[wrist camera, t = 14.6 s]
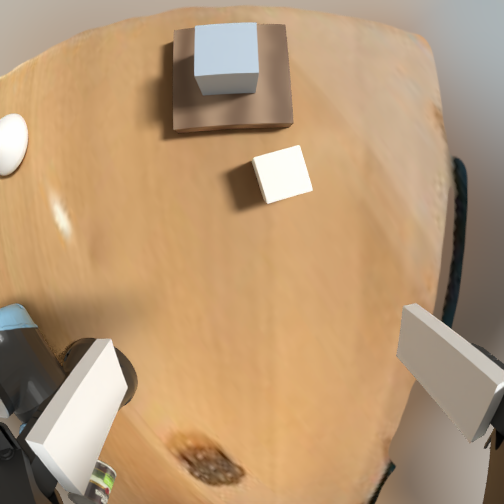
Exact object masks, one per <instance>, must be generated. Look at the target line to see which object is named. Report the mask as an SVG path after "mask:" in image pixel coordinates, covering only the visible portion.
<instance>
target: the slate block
mask: <svg viewBox="0 0 504 504" xmlns="http://www.w3.org/2000/svg"><path fill="white" fill-rule="evenodd" d="M258 76H259V62H258V43H257V24H256V23H226V24H211V25H200V26H195V54H194V77H195V79H196V81H197V83H198V86H199V88H200V90H201V92H202V94H203V96H204V95H218V94H236V93H256V87H257V81H258Z"/></svg>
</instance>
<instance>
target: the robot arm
mask: <svg viewBox="0 0 504 504" xmlns="http://www.w3.org/2000/svg"><path fill="white" fill-rule="evenodd" d="M396 356H397V357H398V358H399V360H400V361H401V362H402V363H403V364H404V365H405V366H406V368H407V369H408V370H409V371H410V372H411V373H412V375H413V376H414V377H415V378H416V379H417V380H418V381H419V383H420V384H421V385H422V386H423V387H424V388H425V390H426V391H427V392H428V393H429V394H430V396H431V397H432V398H433V399H434V400H435V401H436V403H437V404H438V405H439V406H440V407H441V409H442V410H443V411H444V412H445V413H446V414H447V416H448V417H449V418H450V419H451V421H452V422H453V423H454V424H455V425H456V427H457V428H458V429H459V430H460V432H461V433H462V434H463V435H464V437H465V438H466V439H467V440H468V442H469V443H471V442H473V441H475V440H477V439H478V438H480V437H482V436H483V435H484V434H485V432H486V431H487V428H488V427H489V425H490V423H491V425H492V426H493V427H494V429H493V431H492V433H491V435H490V437H489V439H488V440H487V442H486V443H485V446H484V448H485V449H486V448H487V446H488V444H489V443H490V442H491V447H490V460H489V468H488V476H487V483H486V489H485V494H484V500H483V504H504V364H503V363H502V362H501V361H499V360H497V358H495V357H494V356H493V355H491V354H490V353H489V352H488V351H487V350H485V349H484V348H483V347H480V346H477V345H475V344H473V343H472V344H470V343H469V342H467V341H466V340H465V339H464V338H462V337H461V336H460V335H458V334H457V333H456V332H454V331H453V330H452V329H450V328H449V327H448V326H446V325H445V324H444V323H442V322H441V321H440V320H438V319H437V318H436V317H434V316H433V315H432V314H430V313H429V312H428V311H426V310H425V309H423V308H422V307H421V306H419V305H418V304H417V303H415V304H410V305H406V306H403V311H402V320H401V328H400V335H399V342H398V349H397V355H396ZM137 384H138V381H137V375H136V372H135V370H134V368H133V366H132V364H131V363H130V361H129V360H128V359H127V358H126V356H125V355H124V354H123V353H121V352H120V351H119V350H118V349H117V348H115V347H114V346H113V343H112V340H111V339H93V338H85V339H81V340H78V341H77V342H75V343H74V344H73V345H72V346H71V347H70V349H69V350H68V351H67V353H66V355H65V358H64V363H63V366H61V365H60V363H59V362H58V360H57V359H56V357H55V356H54V354H53V352H52V351H51V349H50V348H49V346H48V345H47V343H46V341H45V340H44V338H43V336H42V335H41V333H40V331H39V330H38V326H37V325H36V324H35V323H34V322H33V320H32V319H31V317H30V315H29V314H28V312H27V310H26V309H25V308H24V307H23V306H22V305H20V304H17V303H14V304H10V305H8V306H5V307H3V308H0V417H2V418H8V417H9V416H10V415H11V414H12V413H13V412H14V413H15V415H16V416H17V417H18V418H19V420H20V421H21V422H22V423H23V424H22V425H21V426H20V430H19V436H18V437H17V439H16V438H15V437H14V436H13V434H12V433H11V431H10V430H9V428H8V426H7V425H6V424H4V423H2V422H0V504H63V501H62V499H61V497H60V494H59V493H58V491H57V490H56V489H55V487H56V485H57V482H58V483H59V484H60V485H61V486H62V487H63V488H64V489H65V490H66V491H68V492H71V493H75V494H79V495H83V496H84V494H85V491H86V488H87V485H88V483H89V480H90V477H91V475H92V472H93V470H94V467H95V464H96V462H97V459H98V457H99V454H100V452H101V449H102V447H103V444H104V442H105V440H106V437H107V435H108V432H109V430H110V428H111V425H112V423H113V421H114V418H115V416H116V414H117V412H118V411H119V410H120V408H121V407H123V406H124V405H126V404H127V403H129V402H130V401H131V399H132V398H133V396H134V394H135V391H136V389H137Z"/></svg>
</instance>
